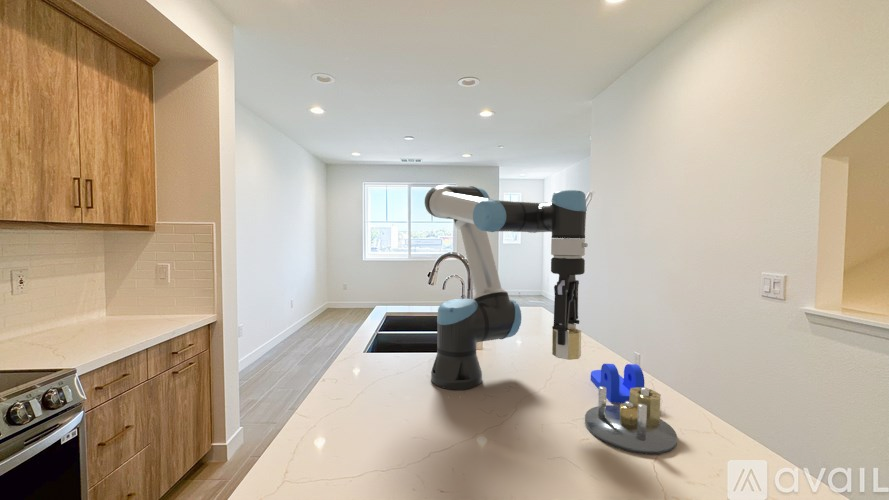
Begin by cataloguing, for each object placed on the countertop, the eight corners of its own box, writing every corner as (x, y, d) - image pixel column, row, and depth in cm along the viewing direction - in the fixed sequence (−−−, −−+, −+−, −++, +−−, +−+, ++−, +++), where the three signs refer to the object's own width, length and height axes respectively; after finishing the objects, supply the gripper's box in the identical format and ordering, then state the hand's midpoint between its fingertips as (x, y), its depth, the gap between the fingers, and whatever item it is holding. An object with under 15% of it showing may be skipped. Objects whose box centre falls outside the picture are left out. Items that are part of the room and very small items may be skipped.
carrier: (577, 436, 76) (578, 398, 76) (592, 403, 91) (593, 372, 91) (677, 466, 67) (679, 423, 66) (676, 423, 82) (677, 388, 81)
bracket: (643, 404, 91) (644, 370, 91) (610, 403, 92) (611, 369, 91) (614, 376, 109) (614, 347, 109) (586, 376, 110) (587, 347, 109)
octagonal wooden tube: (550, 356, 84) (550, 331, 84) (557, 349, 89) (557, 325, 89) (576, 361, 81) (577, 334, 80) (582, 353, 86) (582, 329, 85)
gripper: (575, 259, 74) (572, 369, 75) (592, 255, 90) (590, 346, 91) (539, 258, 78) (537, 362, 79) (562, 254, 94) (560, 341, 95)
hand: (565, 353), depth 85 cm, fingers closed on octagonal wooden tube, 6 cm apart
